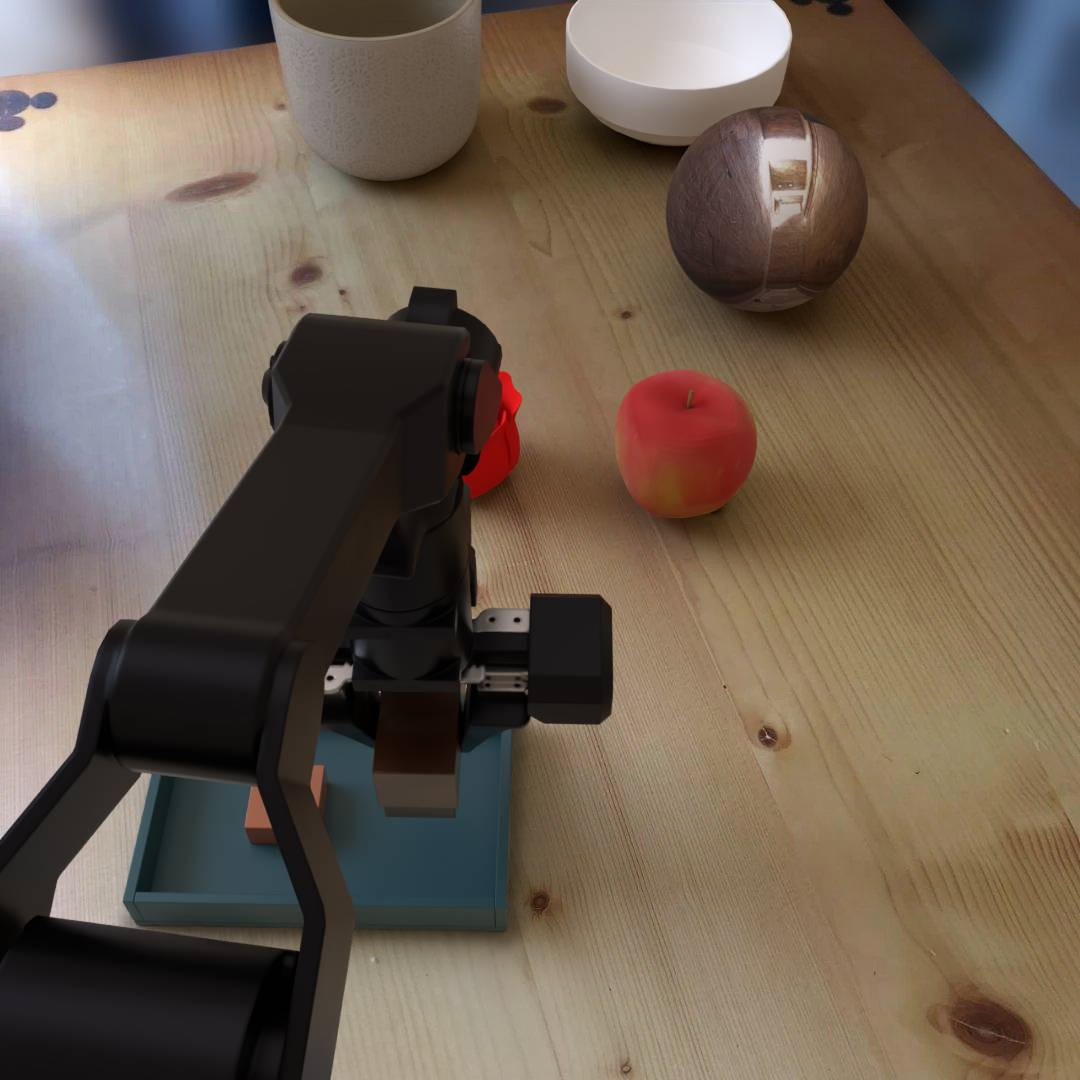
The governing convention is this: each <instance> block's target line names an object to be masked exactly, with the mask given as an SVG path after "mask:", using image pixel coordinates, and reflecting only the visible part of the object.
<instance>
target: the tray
mask: <svg viewBox="0 0 1080 1080" xmlns="http://www.w3.org/2000/svg"><path fill="white" fill-rule="evenodd" d="M379 695H381V691H379ZM514 730H515V729H509V730H506V731H504V732H502V733H500V734H497V735H495V736H493V737H491V738H489V739H487V740H486V741H484V742H483V743H481V744H480V745H479V746H477V747H476V748H475V749H473V750H472V751H471V752H469V753H462V756H461V772H460V787H459V803H458V808H456V817H455V818H413V817H386V816H385V811H384V807H379V806H378V801H377V796H376V791H375V786H374V781H373V776H372V766H373V758H374V749H373V748H371V747H368V746H366V745H364V744H362V743H359V742H357V741H355V740H353V739H350V738H348V737H345V736H343V735H340V734H337V733H334V732H331V731H328V730H325V729H322V728H320V729H319V735H318V741H317V747H316V753H315V759H314V765H325V769H326V773H327V777H328V780H329V785H328V793H327V801H326V808H325V816H324V825H325V828H326V831H327V833H328V836H329V839H330V842H331V844H332V847H333V850H334V853H335V855H336V858H337V861H338V863H339V866H340V869H341V872H342V874H343V877H344V880H345V883H346V885H347V888H348V891H349V893H350V896H351V899H352V902H353V904H354V914H355V925H354V930H355V929H357V930H358V929H359V930H360V929H362V930H414V931H415V930H416V931H417V930H418V931H419V930H420V931H421V930H422V931H472V932H473V931H474V932H475V931H481V932H482V931H483V932H485V931H486V932H507V931H508V916H509V915H508V911H509V910H508V909H509V885H510V884H509V881H510V879H509V878H510V854H511V853H510V852H511V851H510V849H511V823H512V821H511V820H512V818H511V817H512V794H513V793H512V791H513V790H512V788H513V759H514V758H513V757H514V756H513V755H514ZM250 790H251V786H243V785H235V784H227V783H219V782H211V781H204V780H196V779H188V778H180V777H172V776H164V775H156V774H150V779H149V783H148V788H147V792H146V796H145V800H144V805H143V810H142V813H141V819H140V823H139V827H138V831H137V836H136V840H135V845H134V849H133V853H132V858H131V862H130V868H129V871H128V876H127V880H126V885H125V888H124V893H123V897H122V903H123V905H124V908H125V909H126V910H127V912H128V914H129V915H130V917H131V918H132V920H133V922H134V924H135V925H136V926H171V927H172V926H174V927H175V926H178V927H229V928H230V927H235V928H237V927H239V928H291V929H292V928H295V929H297V928H298V929H299V928H300V929H301V928H302V929H303V925H304V918H303V914H302V911H301V908H300V905H299V902H298V900H297V897H296V894H295V891H294V888H293V886H292V883H291V880H290V877H289V874H288V871H287V869H286V866H285V863H284V860H283V857H282V855H281V852H280V849H279V846H278V844H251V843H250V842H249V839H248V836H247V834H246V831H245V828H244V825H245V819H246V814H247V808H248V802H249V796H250Z"/></svg>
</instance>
